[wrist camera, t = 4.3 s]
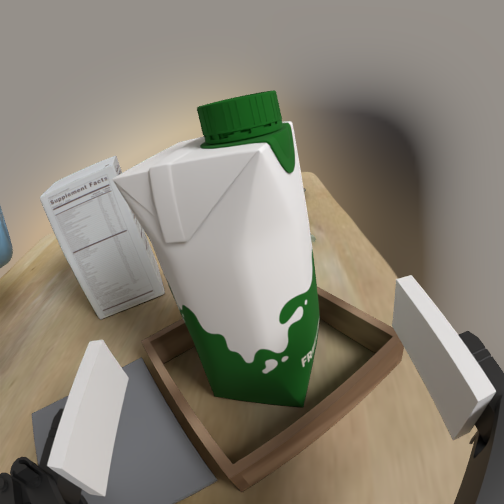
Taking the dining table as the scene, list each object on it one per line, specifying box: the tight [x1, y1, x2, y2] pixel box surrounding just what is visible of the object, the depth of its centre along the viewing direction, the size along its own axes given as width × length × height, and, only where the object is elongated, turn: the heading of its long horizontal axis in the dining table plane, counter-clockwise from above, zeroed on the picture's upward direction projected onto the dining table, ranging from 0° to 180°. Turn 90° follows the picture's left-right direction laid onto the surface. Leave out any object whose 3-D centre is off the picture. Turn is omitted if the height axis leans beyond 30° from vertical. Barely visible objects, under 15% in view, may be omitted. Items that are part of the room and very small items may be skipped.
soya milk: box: [112, 91, 319, 407], centre depth 20 cm, size 9×9×20 cm
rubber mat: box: [32, 357, 218, 504], centre depth 19 cm, size 15×14×1 cm
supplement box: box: [40, 156, 165, 319], centre depth 36 cm, size 10×9×17 cm
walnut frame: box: [141, 287, 404, 492], centre depth 24 cm, size 15×15×3 cm
